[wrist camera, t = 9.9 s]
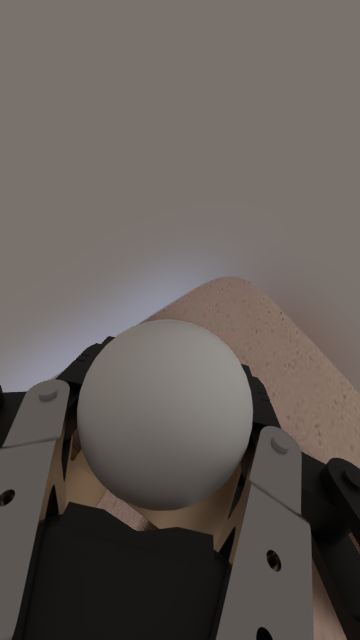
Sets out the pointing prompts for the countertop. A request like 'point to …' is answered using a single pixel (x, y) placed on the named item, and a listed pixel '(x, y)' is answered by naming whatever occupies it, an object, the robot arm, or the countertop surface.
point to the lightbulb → (164, 415)
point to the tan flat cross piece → (196, 517)
